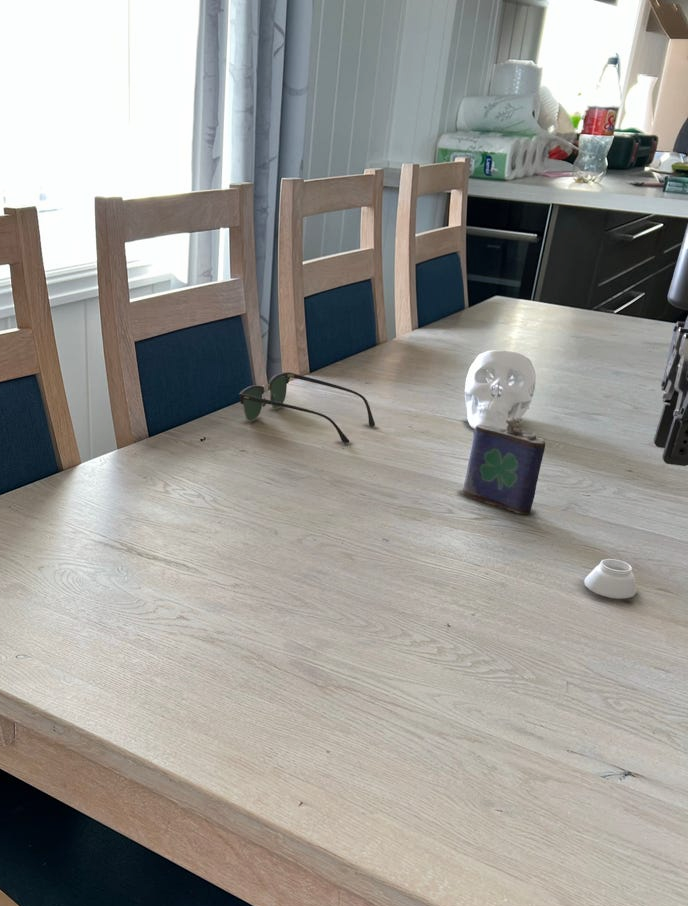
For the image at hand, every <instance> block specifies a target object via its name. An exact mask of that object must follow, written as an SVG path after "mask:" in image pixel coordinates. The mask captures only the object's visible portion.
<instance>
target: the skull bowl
mask: <svg viewBox="0 0 688 906" xmlns="http://www.w3.org/2000/svg"><path fill="white" fill-rule="evenodd" d="M536 372H537V371H536V369H535V368H534V365H533V363H532V360H531V359H530V358H529V357H528V356H525V355H524V354H522V353H520V352H518V351H512V350H504V349H492V350H488V351H484V352H482V353H480V354H479V355H477V356H476V358H475V360H474V361H473V363H471V365H470V367H469V370H468V372H467V375H466V379H465V387H464V400H465V408H466V413H467V414H466V415H467V416H466V417H467V422H468V424H469V426H470V427H471V428H472V429H474V430H475V427H476V426H477V425H479V424H486V425H493V426H496V427H500V428H504V429H507V425H508V424H507V423H506V419H508V420H510V419H512V418H513V417H514V418H515V419H516V418H522V417H523V416H524V415H525V414H526V413H527V411H528V410H529V409H530V406H531V403H532V401H533V397H534V393H535V390H536V383H537V382H536V381H537V373H536ZM491 375H492V376H491Z"/></svg>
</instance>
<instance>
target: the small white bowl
mask: <svg viewBox="0 0 688 906" xmlns="http://www.w3.org/2000/svg"><path fill="white" fill-rule="evenodd" d="M583 582H584V586H585V587H586V588H587V589H588V590H589V591H591V592H593V593H594V594H597V595H598V596H600V597H603V598H604V597H605V598H608V599H615V600H617V599H618V600H622V599H623V600H624V599H629V598H633V597H635V595H636V593H637V591H638V589H637V583H636V580H635V576H634V573H633V566H631V565H630V564H629V563H628V562H625V561H623V560H619V559H615V558H604V559H602V560H601V561H600V563H599V564H597V565H596V566H595V567H594V568H593V570H592V571H590V573H589V574H587V576H586V577H585V578H584V581H583Z"/></svg>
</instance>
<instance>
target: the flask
mask: <svg viewBox="0 0 688 906" xmlns="http://www.w3.org/2000/svg"><path fill="white" fill-rule="evenodd" d="M520 421H523V418H522V417H521V418H516V419H515V418H514V417H513V418H512V419H510V420H508V419H506V423H507V424H508V425H507V429H504V428H500V427H496V426H493V425H486V424H479V425H477V426H476V427H475V429H474V430H473V437H472V443H471V448H470V454H469V458H468V463H467V469H466V474H465V477H464V481H463V487H462V494H463V495H466V497H468V498H470V499H476V500H479V501H481V502H483V503H486V504H488V505H494V506H498V507H499V508H503V509H506V510H508V511H512V512H514V513H515V514H522V515H528V514H531V511H532V507H533V503H534V499H535V496H536V490H537V485H538V480H539V474H540V471H541V466H542V462H543V457H544V454H545V449H546V442H545V440H544V439H543V438H540V437H537V435H536V433H532V432H529V434H528V433H527V431H525V429H524V428H523V426H521V425H519V423H520Z"/></svg>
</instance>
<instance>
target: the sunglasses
mask: <svg viewBox="0 0 688 906" xmlns="http://www.w3.org/2000/svg"><path fill="white" fill-rule="evenodd" d="M290 379H296V380H301V381H306V382H310V383H312V384H313V383H314V384H318V385H321V386H326V387H330V388H334V389H338V390H341V391H345V392H348V393H351V394H354V395H355V396H357V397H359V398H360V399H361V400H362V401H363V402H364V404H365V408H366V411H367V416H368V417H367V418H368V426H370V427H373V428H374V427H375V426H376V422H375V420H374V417H373V414H372V413H373V412H372V410H371V407H370V404H369V402H368V399H366V397H365V396H363V394H361V393H359V392H357V391H356V390H352V389H350V388H347V387H344V386H341V385H338V384H334V383H330V382H327V381H324V380H320V379H317V378H312V377H309V376H306V375H301V374H297V373H294V372H291V371H285V372H280V373H277V374H275V375H273V376H272V377H271V378H270V379H269V381H268V383H264V384H263V385H256V384H255V385H250V386H248V387H246V388H244V389H243V390H241V391H240V392H239V393H238V397H239V401H240V402H239V403H240V404H241V405H242V408H243V413H244V417H245V419H246V420H247V421H248V422H253V421H255V420H257V418H259V416H260V415H261V412H262V407H263V408H264V407H266V404H267V405H271V407H272V408H273V409H274V410H277V409H279V408H281V407H282V408H285V409H291V410H296V411H299V412H304V413H309V414H313V415H317V416H320V417H322V418H324V419H326V420H328V421H329V422H330V423H331V424H332V425H333V428H335V430H336V432H337V434H338V435H339V439H340V441H341V442H342V443H344V444H349V443H350V439H349V438H348V437H347V436H346V434H345V433H343V431H342V430H341V428H340V427H339V426H338V425H337V424H336V422H335V421H334V420H333V419H332V418H330V416H327V415H326V414H323V413H321V412H317V411H315V410H311V409H308V408H304V407H300V406H297V405H292V404H288V403H285V400H286V397H287V388H288V387H287V386H288V384H289V383H290ZM265 388H268V391H269V398H270V399H267V398H265V397H264V398H263V395H264V393H265Z"/></svg>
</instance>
